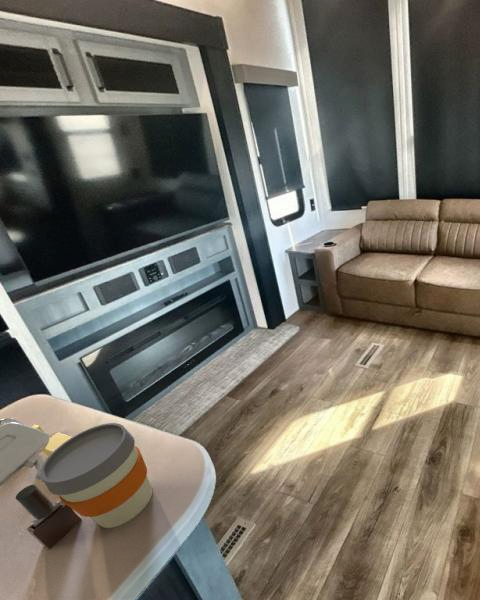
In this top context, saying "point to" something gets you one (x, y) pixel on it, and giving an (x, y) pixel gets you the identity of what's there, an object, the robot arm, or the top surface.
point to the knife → (37, 504)
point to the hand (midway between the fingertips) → (23, 502)
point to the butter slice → (37, 427)
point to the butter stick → (55, 443)
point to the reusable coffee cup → (100, 475)
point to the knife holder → (55, 526)
